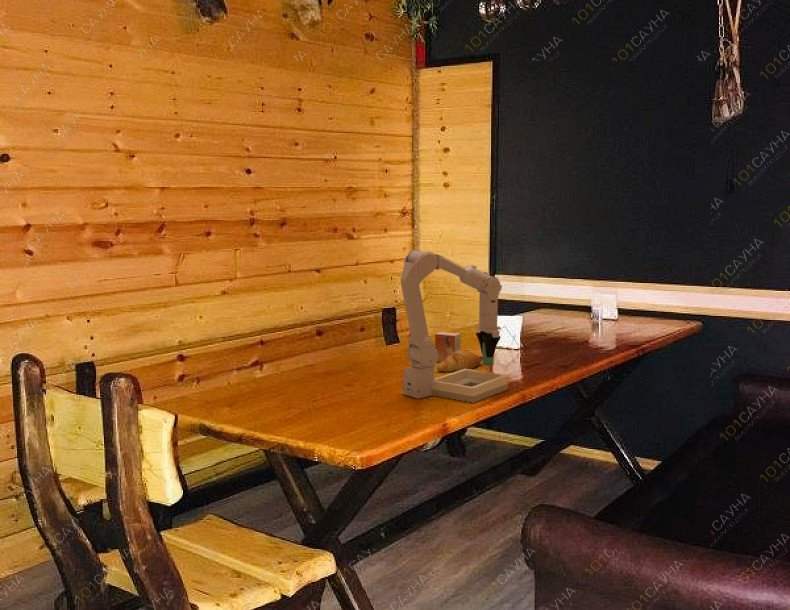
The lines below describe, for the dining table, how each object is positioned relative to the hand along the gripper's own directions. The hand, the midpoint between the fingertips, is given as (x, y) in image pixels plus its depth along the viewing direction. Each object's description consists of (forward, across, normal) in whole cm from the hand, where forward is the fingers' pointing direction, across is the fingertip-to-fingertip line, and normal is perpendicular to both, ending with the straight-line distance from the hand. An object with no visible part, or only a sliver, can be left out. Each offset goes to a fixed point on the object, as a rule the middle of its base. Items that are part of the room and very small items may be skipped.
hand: (487, 355), depth 262 cm
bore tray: (+10, -6, +8) cm, 14 cm away
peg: (+3, 0, 0) cm, 3 cm away
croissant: (+10, +26, +1) cm, 28 cm away
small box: (+10, +37, +1) cm, 38 cm away
